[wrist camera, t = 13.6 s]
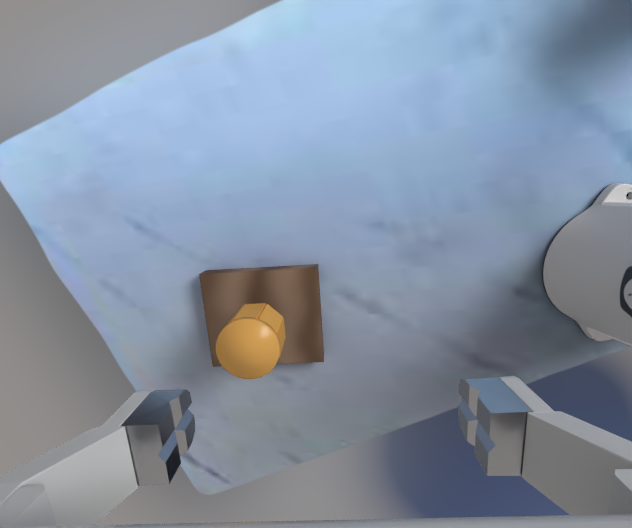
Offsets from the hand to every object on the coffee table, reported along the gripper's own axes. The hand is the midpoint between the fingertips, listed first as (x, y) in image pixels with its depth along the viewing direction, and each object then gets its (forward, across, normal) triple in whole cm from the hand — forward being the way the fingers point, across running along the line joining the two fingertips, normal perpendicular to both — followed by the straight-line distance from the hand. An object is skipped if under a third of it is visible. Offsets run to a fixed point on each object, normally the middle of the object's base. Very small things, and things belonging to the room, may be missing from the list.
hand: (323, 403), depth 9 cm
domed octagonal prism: (+24, -8, -8) cm, 27 cm away
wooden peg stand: (+29, -8, -8) cm, 31 cm away
